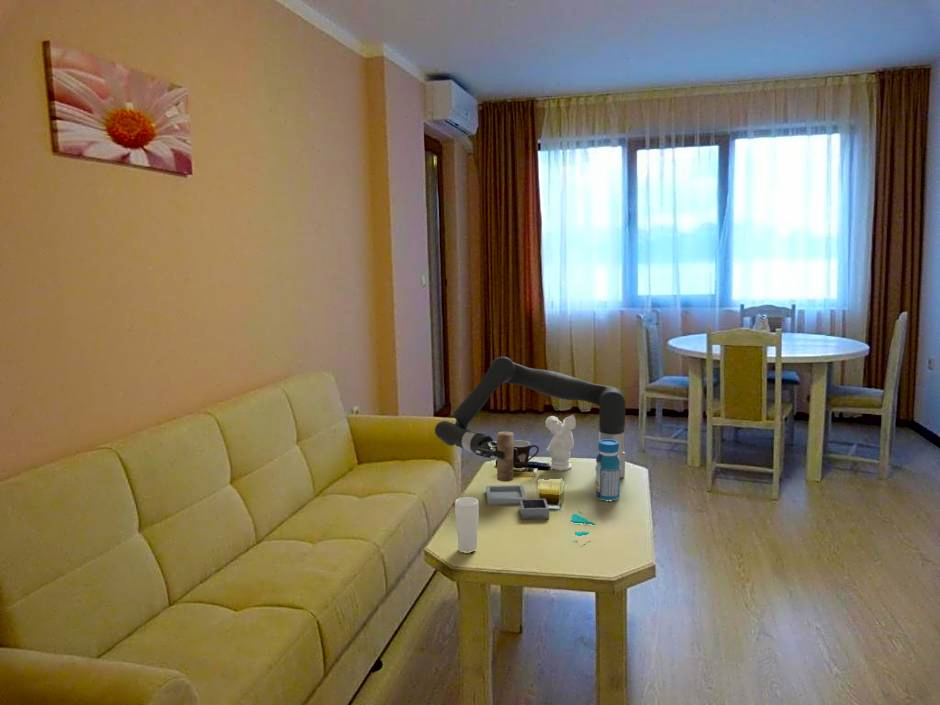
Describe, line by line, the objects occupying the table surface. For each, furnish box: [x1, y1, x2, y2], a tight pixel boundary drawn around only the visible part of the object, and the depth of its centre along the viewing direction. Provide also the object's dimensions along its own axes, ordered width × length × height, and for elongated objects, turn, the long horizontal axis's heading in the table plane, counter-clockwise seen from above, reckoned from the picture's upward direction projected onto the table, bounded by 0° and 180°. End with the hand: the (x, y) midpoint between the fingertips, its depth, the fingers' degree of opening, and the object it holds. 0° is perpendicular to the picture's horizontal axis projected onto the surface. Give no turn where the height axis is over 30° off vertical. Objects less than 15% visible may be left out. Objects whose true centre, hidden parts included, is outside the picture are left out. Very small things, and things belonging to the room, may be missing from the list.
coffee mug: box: [513, 439, 540, 468], centre depth 271 cm, size 12×9×10 cm
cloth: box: [570, 510, 597, 536], centre depth 215 cm, size 26×14×2 cm, turn 161°
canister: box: [496, 431, 514, 483], centre depth 238 cm, size 6×6×16 cm
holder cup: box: [518, 498, 550, 521], centre depth 226 cm, size 9×9×4 cm
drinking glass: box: [454, 496, 480, 552], centre depth 201 cm, size 7×7×15 cm
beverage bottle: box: [595, 439, 621, 502], centre depth 239 cm, size 8×8×20 cm
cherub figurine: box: [544, 414, 577, 472], centre depth 272 cm, size 12×12×22 cm
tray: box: [485, 484, 528, 506], centre depth 240 cm, size 13×13×2 cm
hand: (510, 453), depth 236 cm, fingers closed on canister, 5 cm apart
